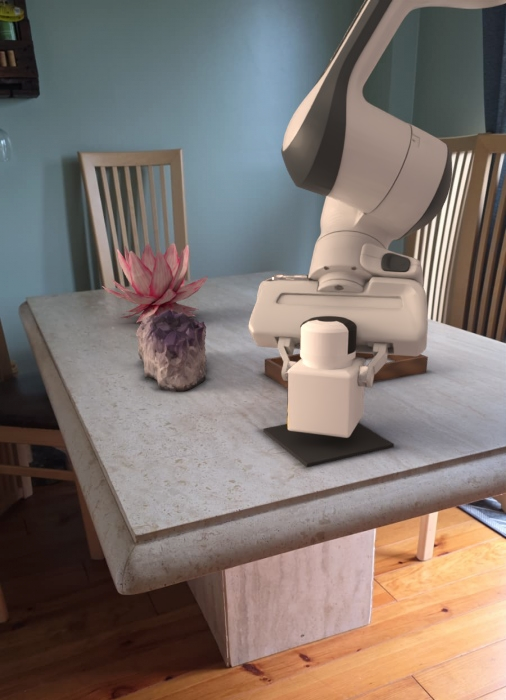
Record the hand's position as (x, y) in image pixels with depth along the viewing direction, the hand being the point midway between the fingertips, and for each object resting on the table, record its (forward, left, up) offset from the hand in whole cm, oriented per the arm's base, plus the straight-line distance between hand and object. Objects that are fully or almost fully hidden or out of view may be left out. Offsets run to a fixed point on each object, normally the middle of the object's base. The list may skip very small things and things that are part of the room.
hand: (326, 381), depth 69 cm
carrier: (-16, -21, -7) cm, 27 cm away
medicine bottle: (0, 0, -5) cm, 5 cm away
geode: (+7, -34, -7) cm, 36 cm away
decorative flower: (-1, -72, -7) cm, 73 cm away
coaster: (0, 0, -7) cm, 7 cm away
